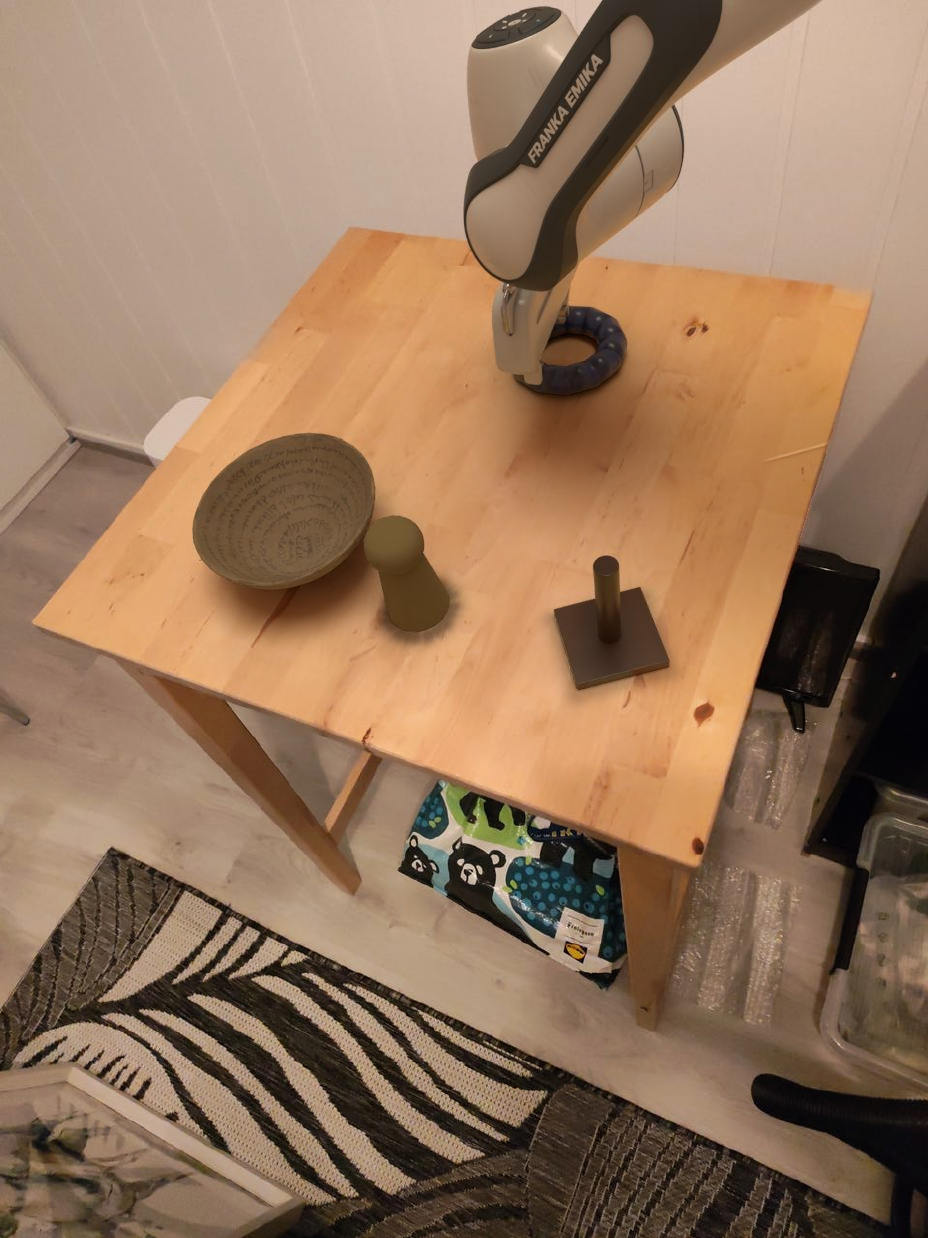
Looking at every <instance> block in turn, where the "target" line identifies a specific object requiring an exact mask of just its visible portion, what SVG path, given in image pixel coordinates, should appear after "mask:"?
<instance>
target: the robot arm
mask: <svg viewBox="0 0 928 1238" xmlns="http://www.w3.org/2000/svg"><path fill="white" fill-rule="evenodd" d="M821 2H823V0H601V1H600V2H599V4H598V5H597V7H596V8H595V10H594V11H593V13H592V14H591V16H590V18H589V19H588V20H587V22H586V24H585V25H584V26H583V28H582V30H581V32H580V33H579V34H578V33H577V31H576V29H575V27H574V25H573V23H572V21H571V19H570V17H569V16H568V14H566V13H565V12H564V11H563V10H561V9H560V8H557V7H553V6H548V5H541V6H533V7H532V6H531V7H528V8H524V9H520V10H519V11H516V12H514V13H511V14H507V15H505V16H504V17H502V18H500V19H498V20H496V21H495V22H493V23H492V24H491V25H489V26H487V27H486V28H485V29H483V30H482V31H481V32H479V33H478V34H477V35H476V36H475V38H474V39H473V40H472V42H471V43H470V46H469V50H468V55H467V62H466V63H467V64H466V96H467V108H468V117H469V125H470V133H471V139H472V145H473V151H474V155H475V158H476V160H477V162H475V163H474V164H473V165H472V167H471V168H470V170H469V172H468V175H467V180H466V182H465V183H466V184H465V189H464V197H463V207H462V208H463V210H462V211H463V212H462V213H463V214H462V215H463V216H462V217H463V229H464V234H465V238H466V242H467V244H468V246H469V249H470V251H471V253H472V255H473V256H474V259H475V260H476V261H477V262H478V265H480V266H481V268H482V269H483V270H484V271H485V272H486V273H488V275H490V276H491V277H492V278H494V279H496V281H499V282H500V284H499V286H498V288H497V290H496V292H495V295H494V297H493V300H492V306H491V330H492V340H493V351H494V360H495V365H496V368H497V369H498V370H499V371H500V372H502V373H503V374H510V375H514V374H518V375H524V381H525V382H526V383H528V384H534V385H540V384H541V382H542V380H543V377H544V374H545V370H544V363H545V361H542V360H541V358H542V356H543V354H544V351H545V349H546V346H547V344H548V341H549V339H550V338H549V336H550V334H551V332H552V329H553V327H554V324H557V323H559V324H564V323H565V322H566V319H567V317H568V315H569V305H570V304H569V301H570V295H571V287H572V282H573V280H574V278H575V275H576V273H577V270H578V268H579V265H580V263H581V262H582V261H584V260H585V259H586V258H588V257H589V256H590V255H591V254H593V253H594V252H596V250H598V249H599V248H600V247H602V246H603V245H604V244H605V243H607V242H608V241H609V240H611V239H612V238H613V237H614V236H616V235H617V234H618V233H620V232H621V231H622V230H624V228H626V227H628V225H630V224H631V223H632V222H633V221H634V220H636V219H637V218H638V217H640V216H642V214H643V213H646V211H648V210H649V209H650V208H651V207H652V206H654V205H655V204H656V203H657V202H659V201H660V200H661V199H662V198H663V197H664V196H665V195H666V194H668V193H669V192H670V191H671V190H672V189H673V188H674V187H675V185H676V183H677V182H678V180H679V178H680V174H681V173H682V168H683V164H684V157H685V136H684V129H683V124H682V120H681V117H680V114H679V112H678V111H679V110H678V109H677V107H676V105H675V104H677V102H679V101H680V100H682V98H683V97H685V96H686V95H688V94H689V93H690V92H691V91H692V90H694V89H695V88H697V87H698V86H699V85H700V84H703V82H704V81H706V80H707V79H709V78H710V77H711V76H714V74H716V73H718V72H719V71H720V70H721V69H723V68H724V67H726V66H728V65H729V64H730V63H732V62H733V61H735V60H737V59H738V58H740V57H741V56H742V55H744V54H745V53H747V52H749V51H750V50H752V49H753V48H755V47H756V46H758V45H760V44H761V43H762V42H764V41H765V40H768V39H769V38H770V37H772V36H773V35H775V34H776V33H778V32H780V31H781V30H783V29H784V28H785V27H787V26H789V25H790V24H792V23H793V22H794V21H796V20H797V19H799V18H800V17H802V16H803V15H805V14H806V13H808V12H809V11H810V10H812V9H813V8H814V7H816V6H817V5H819V4H820V3H821ZM540 360H541V361H542V362H541V361H540Z"/></svg>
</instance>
